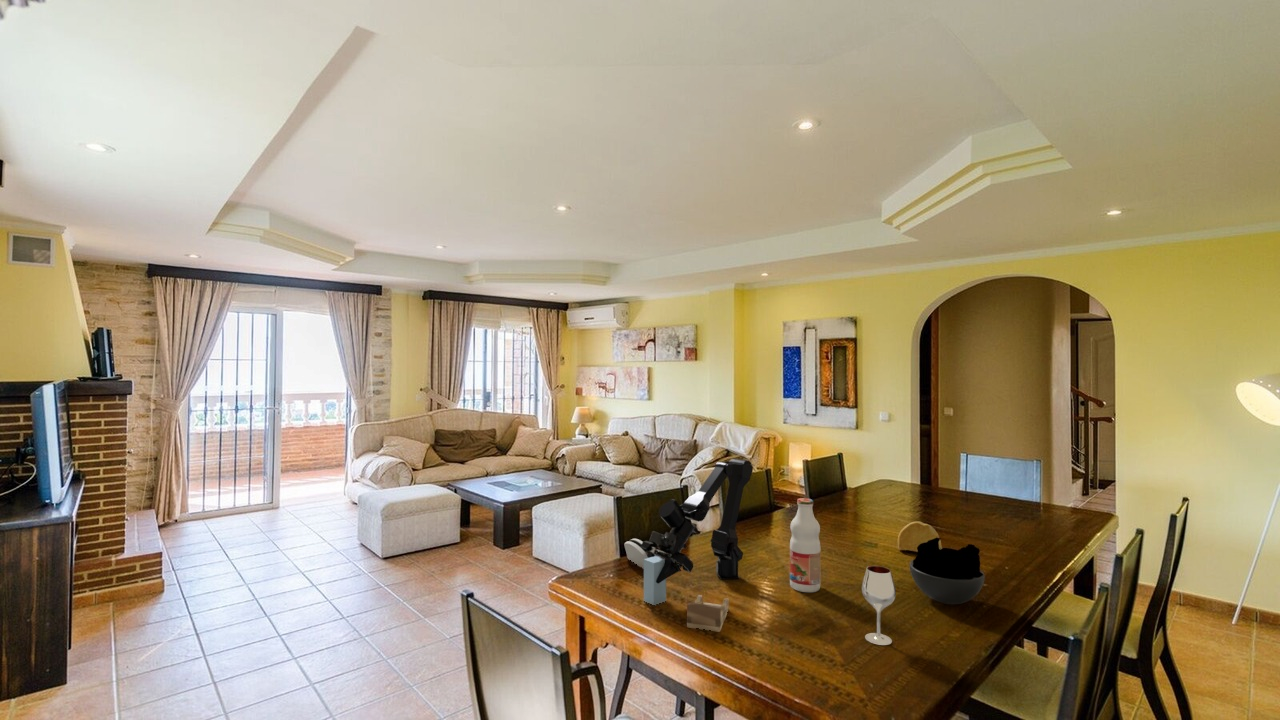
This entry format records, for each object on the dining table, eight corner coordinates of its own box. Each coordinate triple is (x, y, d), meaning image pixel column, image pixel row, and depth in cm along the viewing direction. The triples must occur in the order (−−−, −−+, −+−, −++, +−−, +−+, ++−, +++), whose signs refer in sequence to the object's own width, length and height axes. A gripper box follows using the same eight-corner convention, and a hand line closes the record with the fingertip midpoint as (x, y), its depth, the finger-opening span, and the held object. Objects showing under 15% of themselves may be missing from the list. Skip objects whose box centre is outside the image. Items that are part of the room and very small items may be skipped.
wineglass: (856, 632, 153) (856, 564, 153) (885, 631, 153) (885, 563, 153) (870, 647, 144) (871, 575, 145) (902, 646, 145) (902, 574, 145)
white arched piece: (663, 570, 198) (654, 544, 197) (651, 577, 196) (643, 551, 195) (639, 556, 213) (631, 532, 211) (629, 563, 211) (620, 538, 209)
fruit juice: (824, 593, 179) (824, 503, 180) (793, 593, 179) (794, 502, 180) (815, 582, 189) (815, 496, 189) (786, 581, 189) (786, 496, 189)
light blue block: (656, 597, 176) (656, 555, 176) (666, 601, 172) (666, 559, 172) (643, 601, 172) (643, 559, 172) (653, 606, 169) (653, 563, 169)
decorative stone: (903, 536, 234) (894, 513, 226) (944, 537, 225) (937, 513, 218) (902, 564, 225) (893, 541, 218) (945, 566, 217) (937, 543, 209)
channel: (698, 605, 169) (698, 584, 169) (728, 609, 166) (728, 588, 167) (687, 627, 155) (687, 604, 155) (719, 632, 152) (719, 608, 153)
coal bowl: (894, 594, 179) (894, 533, 179) (940, 585, 186) (940, 527, 187) (952, 620, 160) (952, 553, 160) (1000, 609, 168) (1000, 544, 168)
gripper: (644, 514, 182) (617, 557, 175) (686, 527, 168) (658, 574, 161) (663, 535, 187) (636, 577, 180) (705, 549, 173) (678, 595, 166)
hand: (651, 580), depth 171 cm, fingers closed on light blue block, 4 cm apart
